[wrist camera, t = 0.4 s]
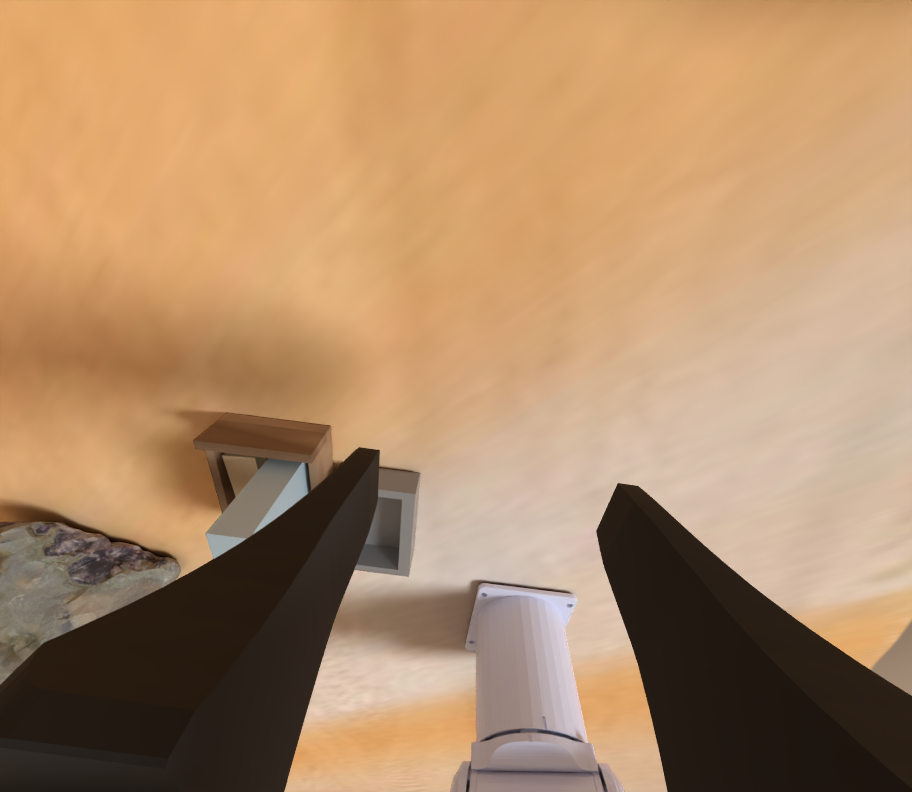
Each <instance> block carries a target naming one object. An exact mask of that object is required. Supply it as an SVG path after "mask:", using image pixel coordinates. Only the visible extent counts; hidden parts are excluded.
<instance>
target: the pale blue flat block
mask: <svg viewBox="0 0 912 792" xmlns="http://www.w3.org/2000/svg"><path fill="white" fill-rule="evenodd" d="M310 491H311V483H310V474H309V465H308V463H303V462H295V461H287V460H279V459H271V458H268V459H267V461H266V462H265V463H264V464H263V465H262V467H261V468H260V469H259V470H258V471H257V473H256V474H255V475H254V476H253V477H252V478H251V480H250V481H249V482H248V483H247V484H246V486H245V487H244V488H243V489H242V490H241V492H240V493H239V494H238V495H237V496H236V498H235V499H234V500H233V501H232V502H231V504H230V505H229V506H228V507H227V508H226V509H225V511H224V512H223V513H222V514H221V515H220V517H219V518H218V519H217V520H216V521H215V523H214V524H213V525H212V526H211V527H210V529H209V530H208V531H207V532H206V533H205V534H206V537H207V540H208V543H209V547H210V550H211V553H212V556H213V559H215V558H216V557H218V556H220V555H221V554H223V553H225V552H226V551H228V550H229V549H231V548H233V547H234V546H236V545H238V544H239V543H241V542H242V541H244V540H245V539H247V538H248V537H250V536H251V535H253V534H254V533H256V532H257V531H259V530H260V529H262V528H263V527H265V526H266V525H267V524H269V523H270V522H272V521H273V520H274V519H276V518H277V517H278V516H280V515H281V514H282V513H284V512H285V511H286V510H288V509H289V508H290V507H291V506H293V505H294V504H295V503H296V502H298V501H299V500H300V499H302V498H303V497H304V496H305V495H307V494H308V493H309V492H310Z"/></svg>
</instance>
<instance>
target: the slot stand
mask: <svg viewBox="0 0 912 792" xmlns="http://www.w3.org/2000/svg"><path fill="white" fill-rule="evenodd" d="M419 483H420V473H416V472H408V471H400V470H392V469H384V468H379V484H378V503H377V506H376V510H375V514H374V517H373V521H372V524H371V528H370V531H369V534H368V537H367V539H366V542H365V544H364V547H363V549H362V552H361V554H360V557H359V559H358V562H357V564H356V567H355V569H354V570H359V571H367V572H375V573H383V574H391V575H399V576H407V577H409V573H410V568H411V563H412V557H413V551H414V542H415V530H416V518H417V507H418V495H419Z"/></svg>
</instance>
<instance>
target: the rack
mask: <svg viewBox="0 0 912 792" xmlns="http://www.w3.org/2000/svg"><path fill="white" fill-rule="evenodd" d="M193 442H194V445H195V449H200V450H205V452H206V456H207V459H208V463H209V467H210V470H211V474H212V477H213V481H214V485H215V488H216V492H217V496H218V499H219V503H220V506H221V510H222V513H223V512H224V511H225V509H226V508H227V507H228V506H229V505H230V504H231V502H232V501H233V500H234V499H235V498H236V496H235V493H234V490H233V487H232V484H231V481H230V478H229V475H228V472H227V469H226V466H225V463H224V460H223V457H222V455H223V454H224V453H231V454H239V455H247V456H255V457H263V458H271V459H279V460H287V461H295V462H303V463H308V465H309V474H310V483H311V490H312V489H314V488H315V487H316V486H317V485H318V484H319V483H321V482H322V481H323V480H324V479H325V478H326V477H327V476H329V475H330V474H331V473H332V472H333V471H334V468H333V453H332V437H331V426H327V425H319V424H311V423H303V422H295V421H288V420H280V419H272V418H264V417H256V416H248V415H240V414H232V413H226V414H225V415H224V416H222V417H221V418H220V419H219V420H217V421H216V422H215V423H214V424H213V425H211V426H210V427H209V428H208V429H206V430H205V431H204V432H203V433H202V434H200V435H199V436H198V437H197V438H195V439H194V440H193Z"/></svg>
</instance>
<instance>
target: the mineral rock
mask: <svg viewBox="0 0 912 792" xmlns="http://www.w3.org/2000/svg"><path fill="white" fill-rule="evenodd" d="M180 572H181V569H180V565H179V563H178V562H177V561H176V560H174V559H172V558H169V557H164V558H163V557H159V556H156V555H154V554H153V553H150V552H147V551H143V550H142V549H141V548H140V547H139V546H137V545H133V544H128V543H123V542H112V543H111V542H110V541H109V539H108V538H107V537H105V536H103V535H101V534H92V533H87V532H84V531H81V530H79V529H75V528H71V527H70V526H68V525H66V524H64V523H58V522H42V521H38V522H0V684H1V683H2V682H3V681H4V680H5V679H6V678H7V677H8V676H9V675H10V674H11V673H12V672H13V671H14V670H15V669H16V668H17V667H18V666H20V665H21V664H22V663H23V662H24V661H25V660H26V659H27V658H28V657H29V656H30V655H31V654H32V653H33V652H34V651H35V650H36V649H37V648H38V647H40V646H41V645H42V644H43V643H44V642H46V641H49V640H51V639H53V638H56V637H58V636H60V635H62V634H65V633H67V632H69V631H71V630H73V629H76V628H78V627H80V626H82V625H84V624H87V623H89V622H91V621H93V620H95V619H98V618H100V617H102V616H104V615H106V614H109V613H111V612H113V611H115V610H117V609H120V608H122V607H124V606H126V605H128V604H130V603H132V602H134V601H136V600H138V599H140V598H142V597H144V596H146V595H148V594H150V593H152V592H154V591H156V590H158V589H160V588H162V587H164V586H166V585H168V584H170V583H172V582H173V581H175V580H176V578H177V577H178V576H179V574H180Z"/></svg>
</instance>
